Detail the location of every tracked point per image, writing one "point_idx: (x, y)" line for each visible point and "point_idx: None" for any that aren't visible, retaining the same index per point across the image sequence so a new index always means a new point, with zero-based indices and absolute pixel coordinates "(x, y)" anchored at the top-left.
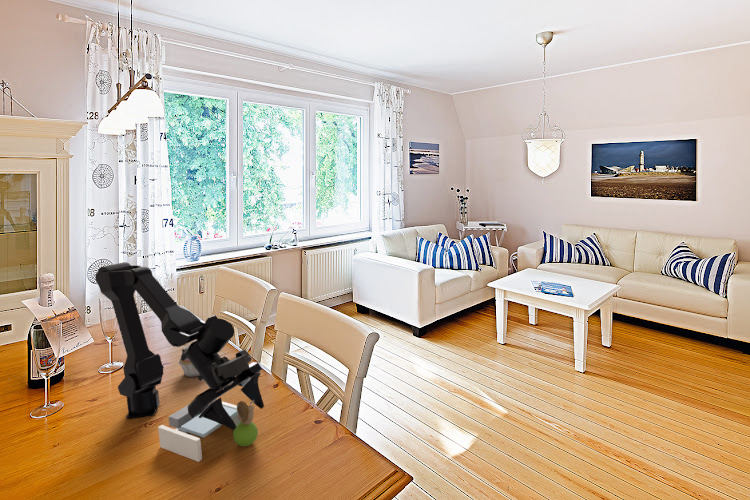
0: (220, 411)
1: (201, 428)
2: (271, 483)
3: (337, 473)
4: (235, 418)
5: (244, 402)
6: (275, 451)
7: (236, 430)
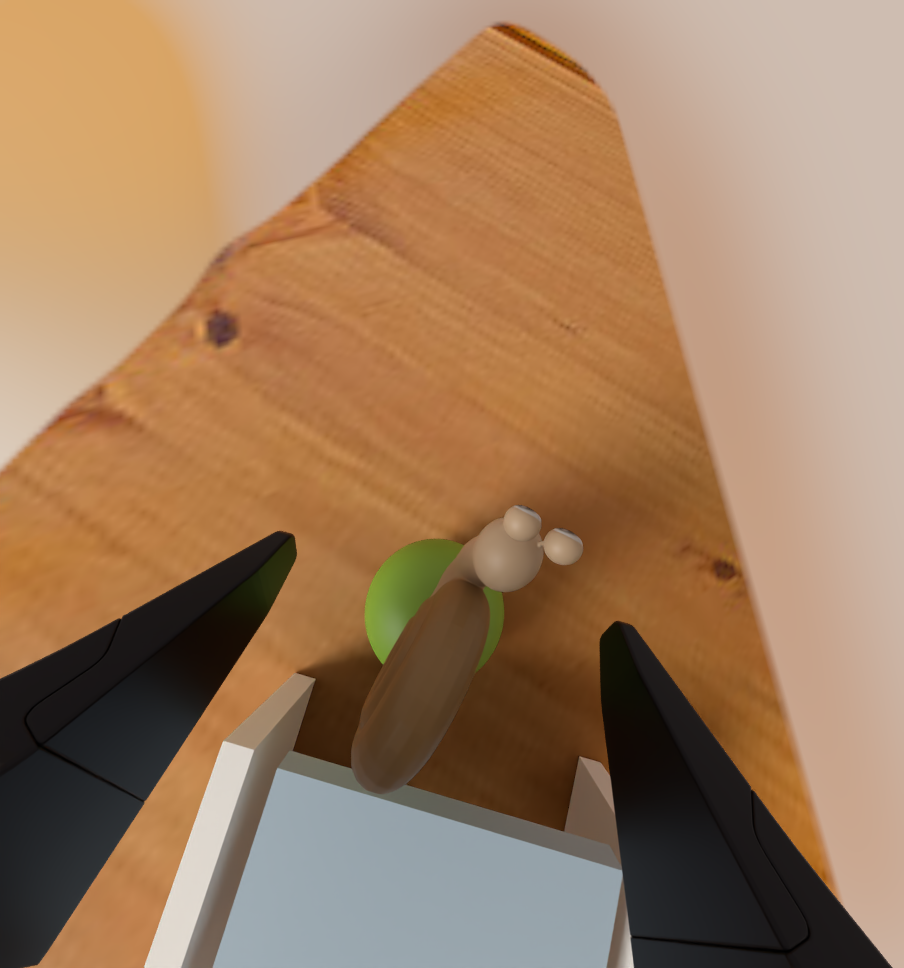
0: (849, 929)
1: (562, 941)
2: (643, 383)
3: (541, 183)
4: (276, 759)
5: (415, 698)
6: (463, 439)
7: (483, 655)
